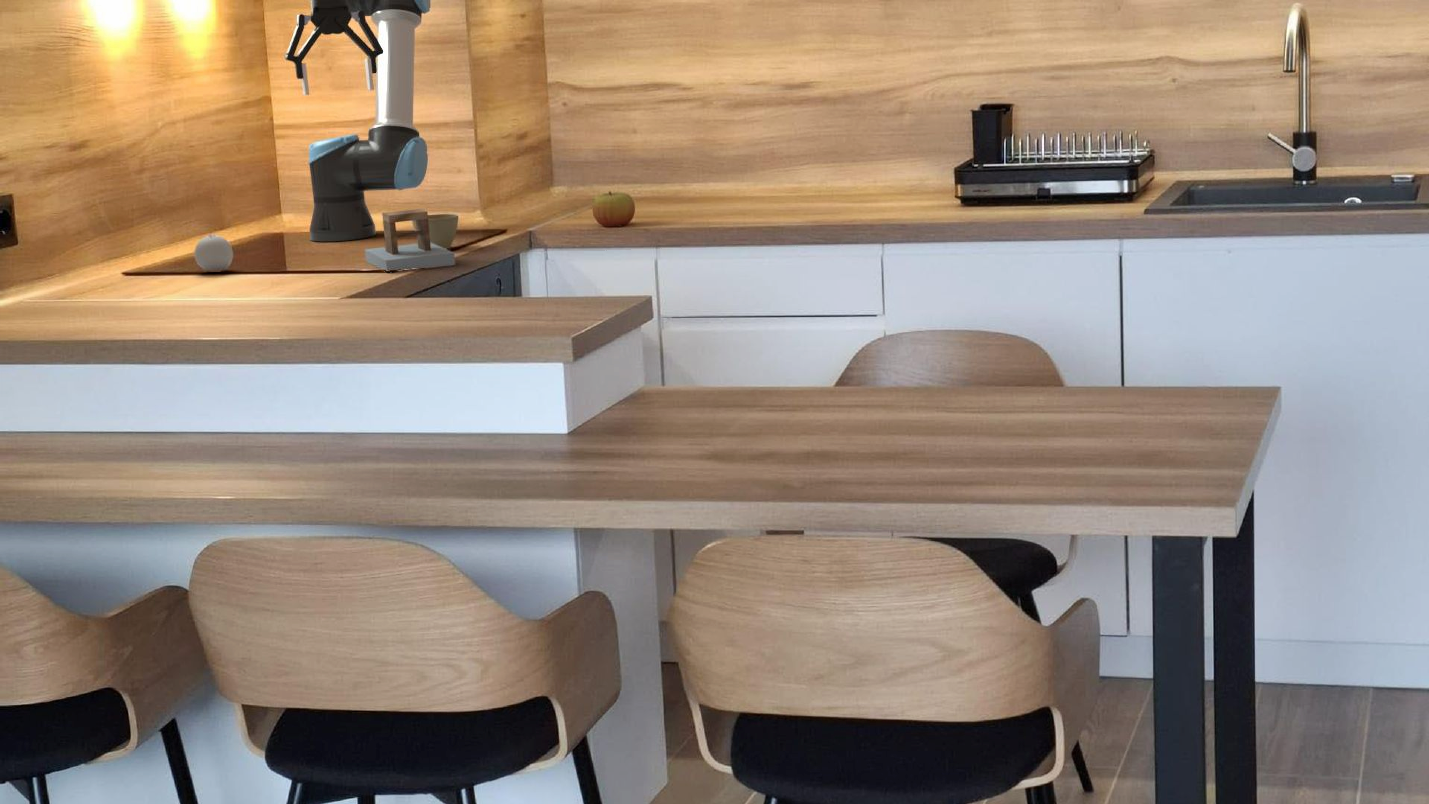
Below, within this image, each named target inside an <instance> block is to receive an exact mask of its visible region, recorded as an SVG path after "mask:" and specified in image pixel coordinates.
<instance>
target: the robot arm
mask: <svg viewBox="0 0 1429 804" xmlns="http://www.w3.org/2000/svg"><path fill="white" fill-rule="evenodd" d="M310 8H311V13H310V14H309V15H307V14H303V13H299V14H297V15H296V26H295V28H294V31H293V35H292V37H291V40H290V42H289V45H288V48H287V50H286V53H285V56H284V59H285V60H286V61H289V62H292V63H293V64H294V65H295V66H294V67H295V76H296V78H297V80H301V85H302V93H303V96H309V95H310V87H309V80H308V70H307V63H306V62H303V61H304V59H305V58H306V56H307V55H308V53H309V51H311V48H313V47H314V44H315V43H316V42H317V40H318V38H319V37H320V36H321V35H324V36H325V35H326V36H329V35H341V34H343V33H344V34H345V35H346V36H348V38H349V39H350V40H351V41H352V42H353V43H354V44H355V45H356V46H357V47H358V48H359V50H361V51H362V52H363V53H364V54H365V55H366V56H367V57H368V58H364V65H365V76H366V77H365V78H366V86H367V91H374V90H375V121H374V122H375V123H374V124H373V125H372V126H371V127H370V128H369V129H368V131H367V133H368V136H367V137H368V139H363V140H362V139H360V137H359V135H358V134H357V133H355V134H349V135H347V134H346V135H341V136H337V137H332V138H331V137H330V138H327V139H322V140H319V141H318V140H317V141H315V142H312V143H311V144H310V145H309V146H308V158H309V159H308V165H309V173H310V182H311V188H312V197H313V210H312V211H313V212H312V215H311V216H312V217H311V219H310V225H309V231H308V232H309V240H310V241H312V242H343V241H352V240H359V239H360V240H361V239H365V238H371V237H375V235H377V231H376V230H377V229H376V225H375V221H374V220H373V218H372V216H371V213H370V209H368V206H367V204H366V200H365V199H366V198H365V191H367V192H370V191H373V192H375V191H391V190H392V191H393V190H397V191H404V190H408V189H409V190H410V189H416V188H417V187H419V186H421V184H422V182H423V181H424V180H425V176H426V174H427V170H428V161H429V160H428V159H429V158H428V157H429V155H428V145H427V143H426V140H425V139H424V138H423V137H421V136H420V131H419V130H418V129H417V127H415V126H414V86H415V84H414V83H415V81H414V80H415V79H414V78H415V40H416V39H415V37H416V33H415V32H416V28H418V27H419V26H420V25H421V24H422V19H423V18H422V15H423V14H424V15H425V14H427V13H429V12H430V9H431V0H310ZM366 17H371V19H370V20H371V22H372V23H373V24H374V25H375V26H376V28H377V36H376V35H375V33H374V31H373V30H372V28H371V27H370V25H369V24H368V22H367V20H366ZM352 19H353V20H354V21H355V22H356V23H358V25H359V27H360V28H361V31H362V32H363V34H364V35H365V37H366V38H367V40H368V43H370V45H371V47H372V48H371V47H370V46H369V45H368V44H367V43H366V42H365V41H364V40H363V39H362V38H361V37H360V36H359V35H358V34H357V33H356V32H355V31H354V30H353V28H351V26H349V24H350V22H351V21H352ZM309 22H311V23H312V24H313V26H314V29H313V30H312V31H311V34H310V36H309V37H308V38H307V39H306V41H305V43H303V45H302V47H301V48H300V50H299V51H298V52H297V48H298V45H299V43H300V40H301V37H302V35H303V32H304V29H305V26H307V25H308V24H309ZM372 49H373V50H372ZM296 52H297V54H296ZM295 54H296V55H295ZM373 74H376V75H375V76H376V80H375V81H376V84H375V85H376V86H375V87H374V79H373V78H374V77H373Z"/></svg>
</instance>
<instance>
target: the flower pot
mask: <svg viewBox="0 0 1429 804" xmlns="http://www.w3.org/2000/svg"><path fill="white" fill-rule="evenodd" d="M428 223H429V234H430V242H431V243H433V244H435V245H438V246H440V247H442V248H449V249H450V248H451V246H452V244H453V242H454V239H455V237H456V233H457V231H458V230H457V229H458V224H459V214H455V213H437V214H436V213H435V214H428ZM411 224H412V226H413V231H417V229H416V220H413V221H411Z"/></svg>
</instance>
